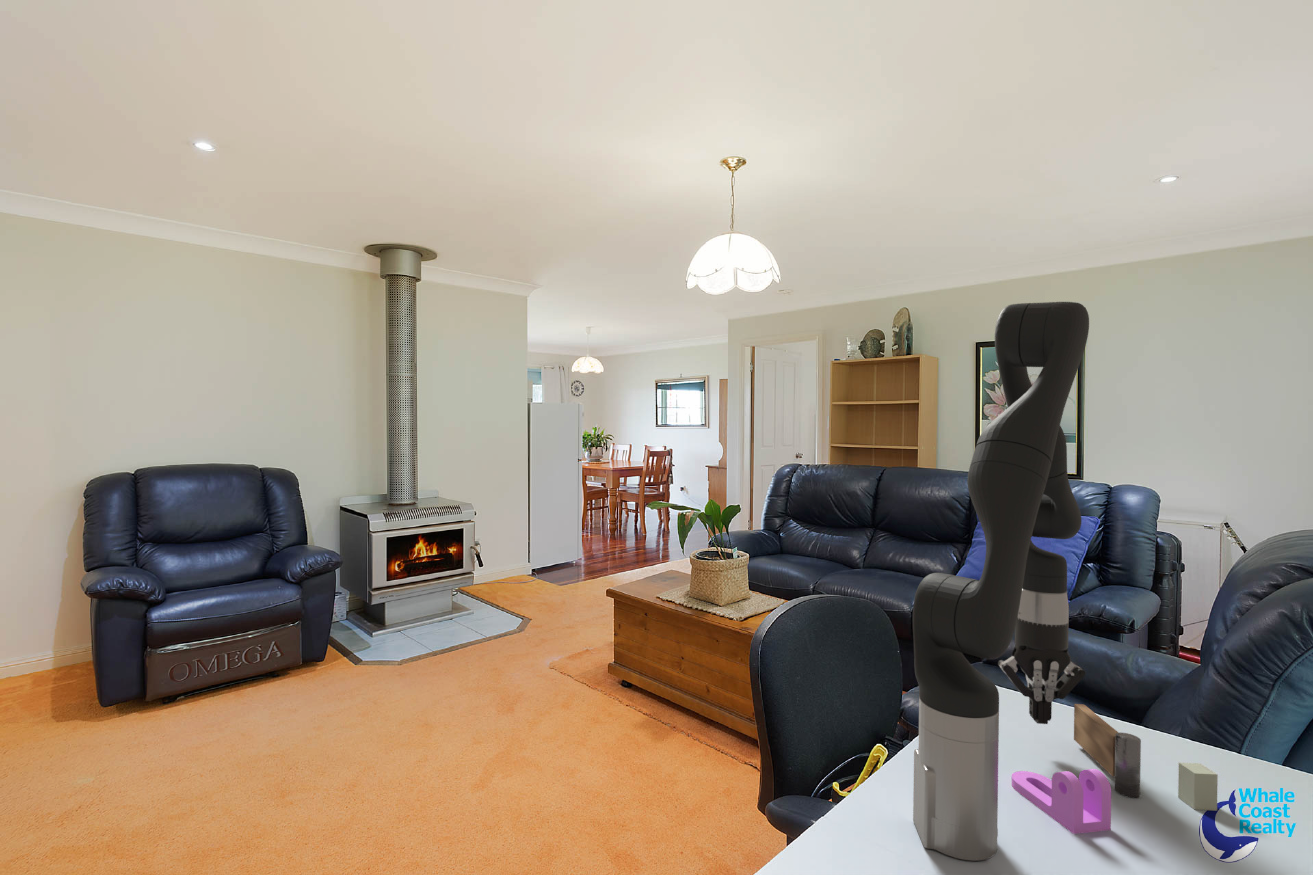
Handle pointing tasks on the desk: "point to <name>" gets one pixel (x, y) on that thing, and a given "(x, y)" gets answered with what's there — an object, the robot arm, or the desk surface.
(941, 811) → the robot arm
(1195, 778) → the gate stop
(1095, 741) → the gate
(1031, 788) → the bracket
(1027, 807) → the desk surface
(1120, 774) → the hinge post
